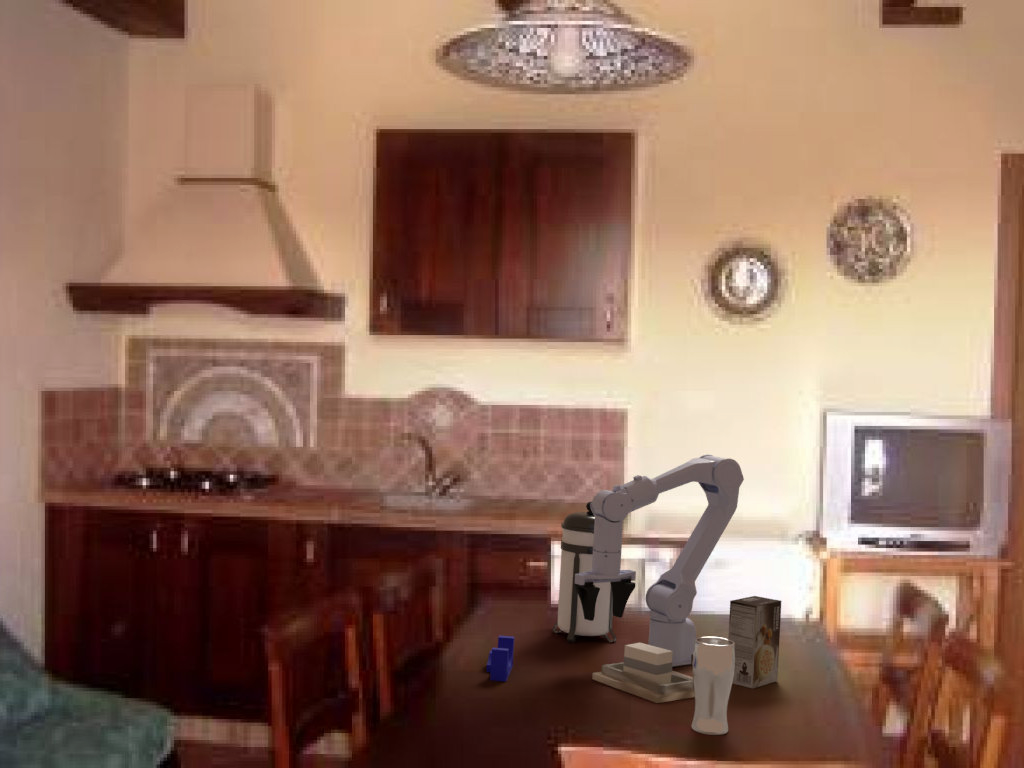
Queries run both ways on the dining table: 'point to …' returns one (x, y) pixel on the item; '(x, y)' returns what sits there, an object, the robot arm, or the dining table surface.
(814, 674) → the dining table surface
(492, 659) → the cable clip
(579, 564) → the coffee press
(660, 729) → the dining table surface
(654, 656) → the cream grey striped block
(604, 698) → the dining table surface
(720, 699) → the beer glass
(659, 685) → the board
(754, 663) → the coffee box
